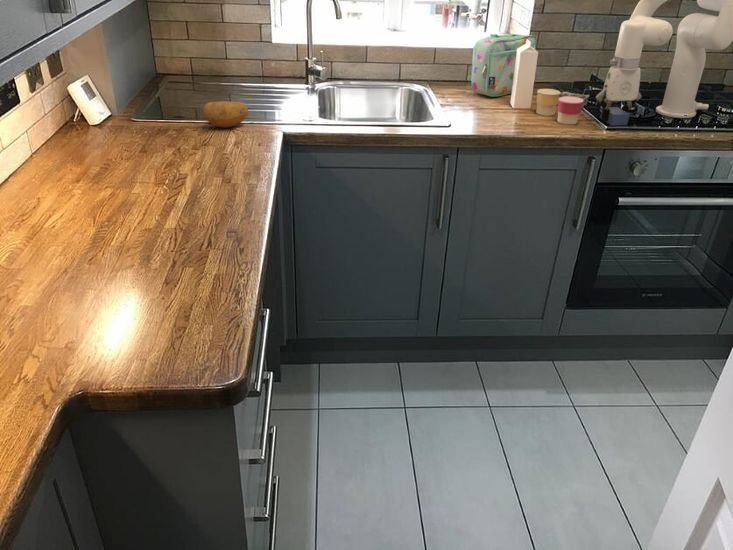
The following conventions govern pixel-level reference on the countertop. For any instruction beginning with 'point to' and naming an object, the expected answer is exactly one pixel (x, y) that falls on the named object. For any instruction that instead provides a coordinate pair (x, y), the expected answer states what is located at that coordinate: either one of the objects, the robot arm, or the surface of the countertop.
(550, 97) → the vanilla yogurt
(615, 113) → the block
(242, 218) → the countertop surface
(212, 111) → the potato
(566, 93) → the egg carton
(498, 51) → the lunch box
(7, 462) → the countertop surface
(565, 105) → the raspberry yogurt
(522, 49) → the milk
